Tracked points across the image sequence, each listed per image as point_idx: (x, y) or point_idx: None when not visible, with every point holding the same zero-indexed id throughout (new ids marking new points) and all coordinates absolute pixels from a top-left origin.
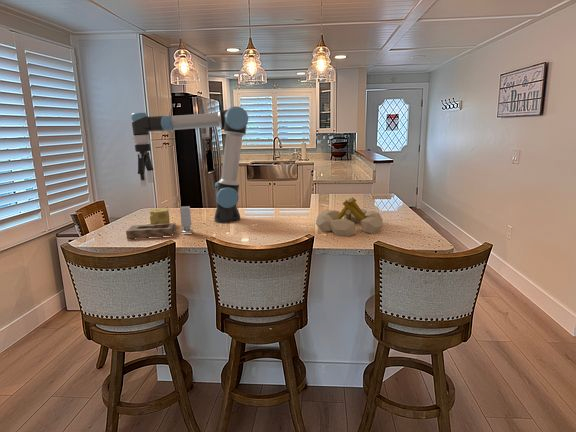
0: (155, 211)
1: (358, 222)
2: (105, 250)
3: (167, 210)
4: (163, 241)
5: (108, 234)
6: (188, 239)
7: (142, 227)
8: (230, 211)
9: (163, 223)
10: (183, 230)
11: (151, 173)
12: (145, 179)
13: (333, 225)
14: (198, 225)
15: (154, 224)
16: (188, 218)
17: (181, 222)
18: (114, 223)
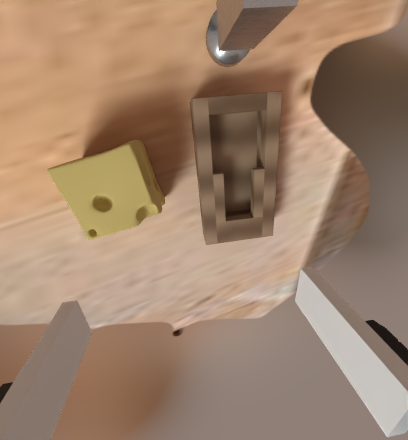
0: (135, 203)
1: None
2: (337, 235)
3: (122, 149)
4: (310, 111)
5: (202, 286)
6: (315, 13)
7: (224, 209)
8: None
9: (148, 162)
10: (229, 53)
11: (15, 422)
12: (359, 318)
13: None
14: (94, 5)
15: (204, 178)
16: None
17: (261, 39)
18: None
